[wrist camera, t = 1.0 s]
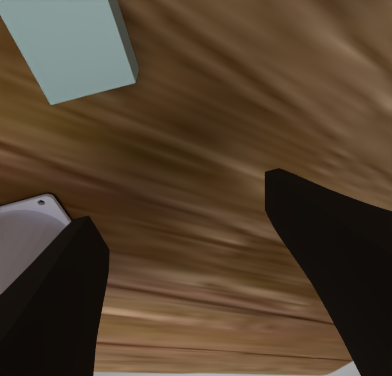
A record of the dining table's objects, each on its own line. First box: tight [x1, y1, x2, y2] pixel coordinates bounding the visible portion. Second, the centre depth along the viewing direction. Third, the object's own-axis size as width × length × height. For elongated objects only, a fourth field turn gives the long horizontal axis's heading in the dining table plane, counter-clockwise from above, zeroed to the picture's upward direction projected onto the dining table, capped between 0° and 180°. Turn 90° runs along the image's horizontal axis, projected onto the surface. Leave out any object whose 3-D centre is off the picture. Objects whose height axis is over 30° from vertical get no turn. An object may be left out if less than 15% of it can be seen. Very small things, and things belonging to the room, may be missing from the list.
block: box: [0, 0, 139, 105], centre depth 12 cm, size 4×4×6 cm
